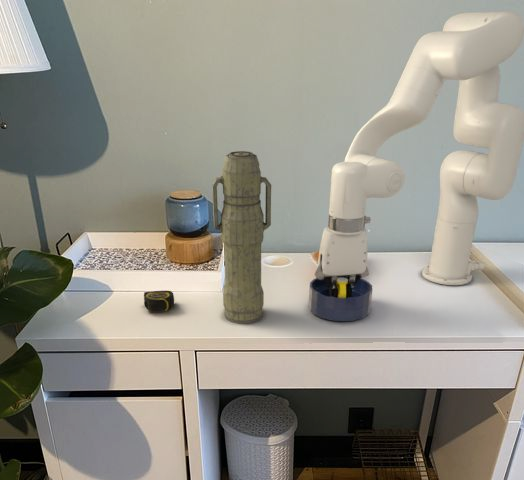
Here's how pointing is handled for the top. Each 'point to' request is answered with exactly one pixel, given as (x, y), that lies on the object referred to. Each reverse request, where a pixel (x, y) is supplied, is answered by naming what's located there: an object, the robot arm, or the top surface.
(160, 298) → the tape measure
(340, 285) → the watch
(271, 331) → the top surface
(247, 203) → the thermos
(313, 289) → the navy bowl
